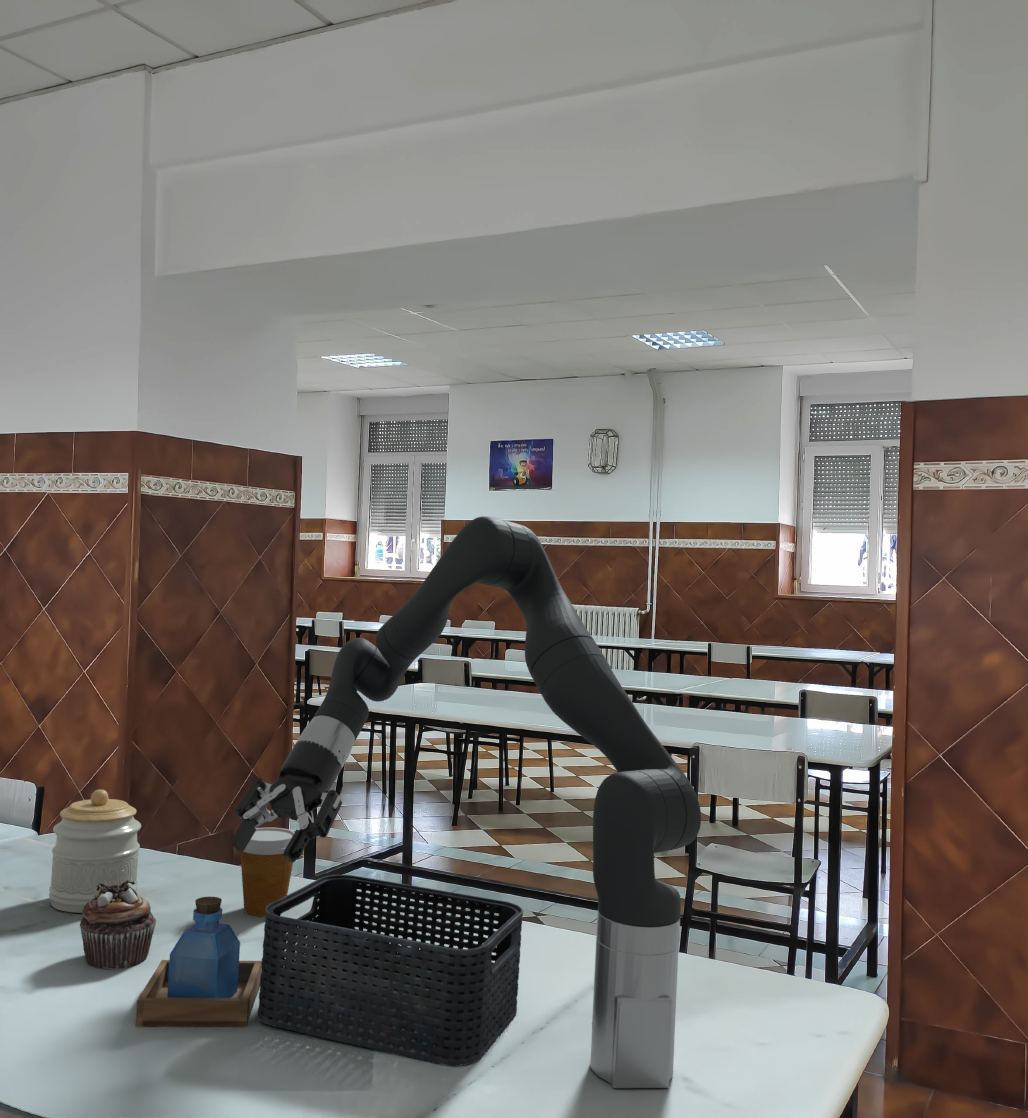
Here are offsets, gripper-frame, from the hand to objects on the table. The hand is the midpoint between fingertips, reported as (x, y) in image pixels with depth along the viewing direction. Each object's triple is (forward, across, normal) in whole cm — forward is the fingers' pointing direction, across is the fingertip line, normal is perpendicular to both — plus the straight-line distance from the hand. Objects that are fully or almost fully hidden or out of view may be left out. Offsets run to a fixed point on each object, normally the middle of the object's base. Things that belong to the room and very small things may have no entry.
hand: (262, 853), depth 134 cm
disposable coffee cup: (-4, -16, +27) cm, 32 cm away
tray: (+18, 0, +4) cm, 19 cm away
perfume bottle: (+18, 0, +4) cm, 19 cm away
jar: (+4, -41, +19) cm, 45 cm away
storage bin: (+12, +21, +12) cm, 27 cm away
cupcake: (+15, -20, +8) cm, 26 cm away
